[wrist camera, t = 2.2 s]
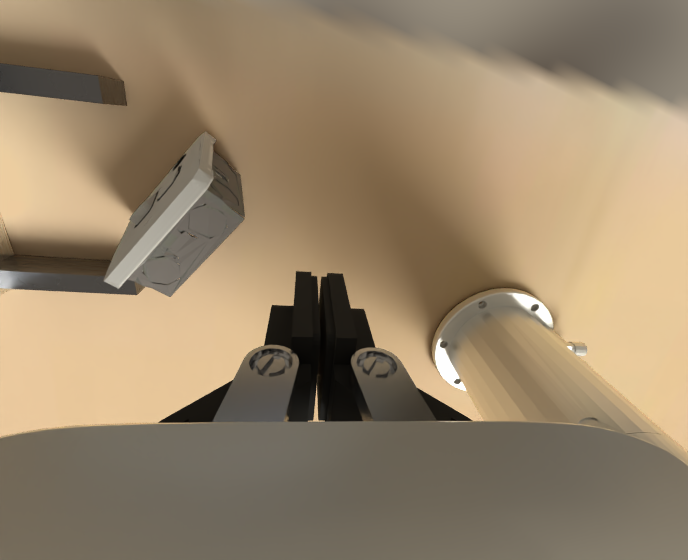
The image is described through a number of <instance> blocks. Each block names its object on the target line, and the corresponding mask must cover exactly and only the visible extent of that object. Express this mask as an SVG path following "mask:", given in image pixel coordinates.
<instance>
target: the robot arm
mask: <svg viewBox="0 0 688 560" xmlns="http://www.w3.org/2000/svg"><path fill="white" fill-rule="evenodd" d="M553 330H554V325H553V320H552V316H551V314H550V312H549V310H548V309H547V308H546V306H545V305H544V304H543V303H542V302H541V301H540V300H538V299H537V298H536V297H534V296H533V295H531V294H529V293H527V292H525V291H522V290H518V289H512V288H499V289H491V290H487V291H484V292H480V293H478V294H476V295H473V296H471V297H469V298H467V299H466V300H464V301H463V302H461V303H460V304H458V305H457V306H456V307H455V308H453V309H452V310H451V311H450V312H449V313H448V314H447V315H446V317H445V318H444V319H443V320H442V322H441V323H440V325H439V327H438V329H437V330H436V333H435V336H434V339H433V343H432V356H433V361H434V363H435V366H436V368H437V370H438V371H439V373H440V375H441V376H442V377H443V378H444V379H445V380H446V382H448V383H449V384H451V385H452V386H454V387H457V388H459V389H462V390H466V391H467V393H468V394H469V396H470V398H471V400H472V401H473V403H474V405H475V406H476V408H477V410H478V412H479V413H480V415H481V417H482V419H483V420H484V421H472V420H471V419H469V418H468V417H466V416H464V415H463V414H461V413H459V412H458V411H456V410H454V409H452V408H451V407H449V406H447V405H446V404H444V403H442V402H440V401H439V400H437V399H435V398H434V397H432V396H430V395H429V394H427V393H425V392H423V391H422V390H420V389H418V388H417V387H416V386H415V384H414V382H413V381H412V379H411V377H410V376H409V374H408V372H407V371H406V369H405V367H404V366H403V364H402V362H401V361H400V360H399V359H398V357H397V356H395V355H394V354H392V353H391V352H389V351H386V350H384V349H380V348H375V344H374V341H373V338H372V334H371V331H370V328H369V324H368V321H367V318H366V314H365V311H364V309H351V308H350V304H349V299H348V295H347V291H346V286H345V282H344V277H343V274H334V273H328V274H327V277H321V287H320V298H319V300H318V284H317V276H311V272H299V271H296V282H295V296H294V306H279V305H272V307H271V312H270V318H269V323H268V328H267V333H266V339H265V344H264V346H261V347H258V348H256V349H254V350H252V351H251V352H249V353H248V354H247V355H246V357H245V358H244V360H243V362H242V364H241V366H240V368H239V370H238V372H237V374H236V376H235V378H234V380H232V381H230V382H229V383H227V384H225V385H223V386H222V387H220V388H218V389H216V390H214V391H213V392H211V393H209V394H207V395H206V396H204V397H202V398H200V399H198V400H197V401H195V402H193V403H191V404H190V405H188V406H186V407H184V408H182V409H181V410H179V411H177V412H175V413H174V414H172V415H170V416H168V417H167V418H165V419H163V420H161V421H160V422H158V423H126V424H101V425H75V426H65V427H55V428H46V429H38V430H33V431H27V432H22V433H16V434H11V435H5V436H1V437H0V560H688V452H687V451H686V450H685V449H684V448H683V447H682V446H681V445H679V444H678V443H677V442H676V441H675V440H673V439H672V438H671V437H670V436H669V435H668V434H666V433H665V432H664V431H663V430H662V429H661V428H660V427H658V426H657V425H656V424H655V423H654V422H653V421H652V420H650V419H649V418H648V417H647V416H646V415H645V414H644V413H642V412H641V411H640V410H639V409H638V408H637V407H636V406H634V405H633V404H632V403H631V402H630V401H629V400H628V399H626V398H625V397H624V396H623V395H622V394H621V393H620V392H618V391H617V390H616V389H615V388H614V387H613V386H612V385H610V384H609V383H608V382H607V381H606V380H605V379H604V378H602V377H601V376H600V375H599V374H598V373H597V372H596V371H594V370H593V369H592V368H591V367H590V366H589V365H588V364H587V363H586V362H585V361H583V360H582V359H581V358H580V357H578V356H585V355H586V354H587V346H586V345H585V344H584V343H582V342H566V341H565V340H564V339H562V338H561V337H560V336H559V335H558V334H557V333H555V332H554V331H553ZM316 385H317V395H318V419H319V420H325V422H308V421H313V417H314V407H315V396H316Z"/></svg>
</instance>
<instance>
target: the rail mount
mask: <svg viewBox="0 0 688 560" xmlns="http://www.w3.org/2000/svg"><path fill="white" fill-rule="evenodd" d="M0 92H7V93H16V94H24V95H33V96H41V97H50V98H59V99H67V100H76V101H84V102H93V103H102V104H112V105H123V106H127V102H126V95H125V89H124V82H123V81H120V80H115V79H111V78H106V77H102V76H97V75H89V74H81V73H73V72H65V71H57V70H49V69H41V68H33V67H25V66H17V65H9V64H1V63H0ZM110 263H111V261H108V260H92V259H75V258H59V257H43V256H26V255H14V253H13V250H12V247H11V244H10V241H9V238H8V235H7V232H6V229H5V226H4V223H3V220H2V217H1V214H0V295H1V294H3V293H5V292H7V291H9V290H10V289H25V290H46V291H66V292H86V293H107V294H127V295H137V294H139V293H140V292H141V291H142V290H143V289H144V288H145V286H142V285H140V284H138V283H136V282H135V281H131V280H128V279H127V280H126V281H125V282H124V283H123V284H122V286H121V287H120V288H119V289H118V288H116V287H114V286H112V285H110V284H108V283H106V282H104V277H105V275H106V273H107V270H108V268H109V265H110Z"/></svg>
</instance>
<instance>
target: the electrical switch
mask: <svg viewBox="0 0 688 560" xmlns="http://www.w3.org/2000/svg"><path fill="white" fill-rule="evenodd" d="M215 142H216V139H215V138H214V137H212V136H211V135H210V134H208V133H207V132H206V131H205V132H204V133H202V134H201V135H200V136H199V137H198V138H197V139H196V140H195V141H194V143H193V144H192V145H191V146H190V147H189V149H188V150H187V151H186V152H185V153H184V155H183V156H182V157H181V158H180V159H179V161H178V162H177V163H176V164H175V165H174V167H173V168H172V169H171V170H170V171H169V173H168V174H167V175H166V176H165V177H164V179H163V180H162V181H161V182H160V184H159V185H158V186H157V187H156V188H155V190H154V191H153V192H152V193H151V194H150V196H149V197H148V198H147V199H146V200H145V201H144V202H143V203H142V204H141V205H140V206H139V207H138V209H137V210H136V211H135V212H134V213H133V214H132V216H131V217H130V219H129V220H130V222H129V224H128V226H127V228H126V231H125V233H124V235H123V237H122V239H121V241H120V243H119V245H118V247H117V249H116V251H115V253H114V256H113V258H112V261H111V263H110V265H109V268H108V270H107V273H106V275H105V277H104V282H106V283H108V284H110V285H112V286H114V287H116V288H118V289H119V288H120V287H121V286H122V284H123V283H124V282H125V281H126V280H127V279H128V280H131V281H135V282H136V283H138V284H140V285H142V286H145V287H149V288H153V289H155V290H157V291H159V292H161V293H163V294H165V295H167V296H169V297H171V296H172V295H173V293H174V292H175V291H176V290H177V289H178V288H179V287H180V286H181V285H182V284H183V283H184V282H185V281H186V280H187V279H188V278H189V277H190V276H191V275H192V274H193V273H194V271H195V270H196V269H197V268H198V267H199V266H200V265H201V264H202V263H203V262H204V261H205V260H206V259H207V258H208V257H209V256H210V255H211V254H212V253H213V252H214V251H215V249H216V248H217V247H218V246H219V245H220V244H221V243H222V242H223V241H224V240H225V239H226V238H227V237H228V236H229V235H230V234H231V233H232V232H233V231H234V230H235V229H236V227H237V226H238V225H239V224H240V223H241V222H242V221H243V220H244V218H243V217H245V213H244V204H243V195H242V186H241V177H240V174H238V173H237V172H236V171H235V170H233V169H232V168H231V167H230V166H229V165H227V164H228V163H227V162H226V161H225V160H224V159H222V158H221V157H220V156H219V155H217V154H216V153H215V152H214V151H213V144H215ZM231 208H232V209H231ZM234 210H235V211H236V212H238V213H239V214H240V215H242V216H243V217H242V216H240V215H239V214H238V213H236V212H235V211H234ZM188 233H190V234H192V235H194V236H195V237H197V238H195V237H194V236H192V235H190V234H188ZM179 278H180V279H179ZM177 279H178V280H177Z"/></svg>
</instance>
